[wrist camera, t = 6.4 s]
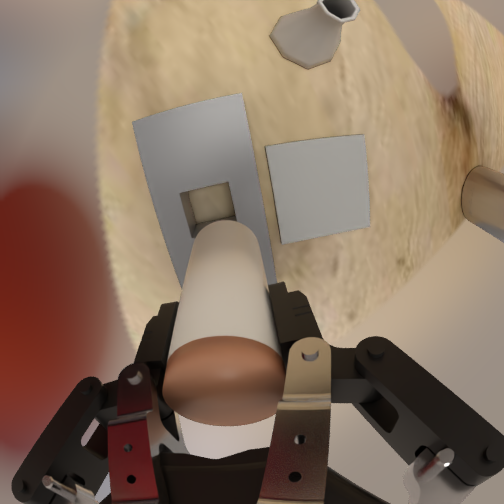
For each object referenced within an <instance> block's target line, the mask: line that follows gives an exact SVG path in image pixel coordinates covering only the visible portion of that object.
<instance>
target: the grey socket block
mask: <svg viewBox="0 0 504 504" xmlns="http://www.w3.org/2000/svg"><path fill="white" fill-rule="evenodd" d="M132 124H133V129H134V133H135V137H136V142H137V146H138V150H139V154H140V158H141V162H142V166H143V169H144V173H145V177H146V180H147V184H148V188H149V191H150V195H151V198H152V201H153V205H154V208H155V211H156V215H157V218H158V221H159V224H160V227H161V231H162V234H163V237H164V240H165V243H166V246H167V249H168V252H169V255H170V257H171V260H172V263H173V266H174V269H175V272H176V274H177V277H178V280H179V283H180V285H181V288H183V284H184V280H185V275H186V271H187V267H188V263H189V259H190V255H191V251H192V247H193V243H194V240H195V238H196V236H197V234H198V233H199V232H200V231H201V230H202V229H203V228H204V227H205V226H207V225H209V224H211V223H213V222H216V221H221V220H231V221H236V222H239V223H241V224H243V225H245V226H246V227H248V228H249V229H250V230H251V231H252V232H253V233H254V234H255V236H256V238H257V240H258V243H259V247H260V252H261V257H262V261H263V266H264V270H265V275H266V279H267V284H268V285H270V284H275V283H277V279H276V273H275V267H274V261H273V256H272V250H271V244H270V238H269V233H268V227H267V221H266V216H265V210H264V205H263V199H262V194H261V188H260V183H259V178H258V172H257V167H256V162H255V156H254V151H253V146H252V141H251V136H250V131H249V126H248V121H247V116H246V111H245V106H244V101H243V96H242V93H239V94H233V95H228V96H223V97H218V98H214V99H209V100H205V101H201V102H197V103H193V104H189V105H185V106H181V107H177V108H174V109H170V110H167V111H164V112H160V113H157V114H154V115H151V116H148V117H145V118H142V119H139V120H136V121H133V122H132ZM225 182H229V187H230V191H231V196H232V200H233V205H234V210H235V214H236V216H232V217H228V218H223V219H218V220H214V221H209V222H205V223H200V224H196V221H195V218H194V214H193V210H192V206H191V203H190V199H189V195H188V191H190V190H194V189H199V188H203V187H207V186H212V185H216V184H221V183H225Z"/></svg>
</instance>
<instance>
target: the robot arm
mask: <svg viewBox="0 0 504 504" xmlns="http://www.w3.org/2000/svg"><path fill="white" fill-rule="evenodd" d="M462 210H463V213H464V215H465V217H466V219H467V220H468V221H470V222H472V223H473V224H475V225H477V226H478V227H480V228H482V229H483V230H485V231H486V232H488V233H489V234H491V235H493V236H494V237H496V238H497V239H499V240H500V241H502V242H503V243H504V174H503V173H500V172H497V171H495V170H492V169H489V168H486V167H483V166H478V167H476V168H474V169H473V170H472V171H471V172H470V173H469V175H468V177H467V179H466V181H465V184H464V187H463V191H462ZM268 289H269V295H270V299H271V304H272V309H273V313H274V318H275V323H276V328H277V333H278V337H279V342H280V347H281V352H282V357H283V361H284V364H285V369H286V379H285V386H284V392H283V398H282V400H279V402H278V406H277V411H276V417H275V422H274V428H273V433H272V438H271V443H270V447H266V448H260V449H251V450H247V451H244V452H241V453H237V454H234V455H231V456H228V457H224V458H221V459H209V458H204V457H199V456H195V455H190V453H189V452H188V450H187V448H186V446H185V443H184V439H183V435H182V430H181V425H180V421H179V415H178V413H176V412H175V411H174V410H172V409H171V408H170V407H169V406H168V405H167V403H166V402H165V400H164V398H163V394H162V389H163V383H164V377H165V371H166V366H167V360H168V355H169V349H170V344H171V339H172V334H173V329H174V324H175V320H176V315H177V310H178V306H179V302H171V303H165V304H162V305H161V307H160V310H159V313H158V316H153V317H152V319H151V320H150V321H149V322H148V323H147V325H146V328H145V331H144V334H143V336H142V341H141V342H140V345H139V348H138V351H137V354H136V357H135V361H134V363H133V364H130V365H128V366H126V367H125V368H124V369H123V370H122V371H121V372H120V374H119V376H118V380H115V381H112V382H109V383H106V384H102V383H101V381H100V380H99V379H98V378H96V377H87V378H84V379H83V380H81V381H80V382H79V383H78V384H77V385H76V387H75V388H74V389H73V391H72V392H71V394H70V395H69V396H68V398H67V399H66V400H65V402H64V403H63V404H62V406H61V407H60V408H59V410H58V411H57V413H56V414H55V415H54V417H53V418H52V420H51V421H50V423H49V424H48V425H47V427H46V428H45V430H44V431H43V433H42V434H41V436H40V438H39V439H38V440H37V441H36V443H35V444H34V446H33V448H32V449H31V451H30V452H29V454H28V455H27V457H26V458H25V460H24V461H23V463H22V465H21V466H20V468H19V470H18V471H17V473H16V474H15V476H14V478H13V480H12V492H13V494H14V496H15V498H16V499H17V500H18V501H20V502H22V503H24V504H390V503H388V502H386V501H384V500H382V499H381V498H379V497H377V496H375V495H373V494H372V493H370V492H368V491H366V490H365V489H363V488H361V487H359V486H358V485H356V484H355V483H353V482H351V481H350V480H348V479H347V478H345V477H343V476H342V475H340V474H339V473H337V472H336V471H334V470H333V469H331V468H330V467H328V454H329V438H330V418H331V417H330V416H331V403H352V404H353V405H354V406H355V408H356V409H357V410H358V411H359V412H360V413H361V414H362V415H363V416H364V418H365V419H366V420H367V421H368V422H369V423H370V424H371V425H372V426H373V428H375V430H376V431H377V432H378V433H379V434H380V435H381V436H382V437H383V438H384V439H385V441H386V442H388V444H389V445H390V446H391V447H392V448H393V449H394V450H395V451H396V452H397V453H398V454H399V455H400V457H401V458H403V460H404V461H405V462H406V463H407V464H408V465H409V466H408V468H407V469H406V471H405V474H404V477H403V482H404V486H405V488H406V489H407V491H408V493H409V503H408V504H460V503H461V502H462V501H463V500H464V499H465V498H466V497H467V496H468V495H469V494H470V493H471V491H472V490H473V489H474V488H475V487H476V486H477V485H479V484H481V483H483V482H484V481H486V480H487V479H489V478H491V477H492V476H494V475H495V474H497V473H498V472H499V471H501V470H502V469H503V468H504V435H502V434H501V433H500V432H499V431H498V430H496V429H495V428H494V427H493V426H492V425H491V424H490V423H489V422H487V421H486V420H485V419H484V418H482V416H480V415H479V414H478V413H477V412H476V411H474V410H473V409H472V408H471V407H470V406H469V405H467V404H466V403H465V402H464V401H463V400H461V399H460V398H459V397H458V396H457V395H455V394H454V393H453V392H452V391H451V390H449V389H448V388H447V387H446V386H445V385H443V384H442V383H441V382H440V381H439V380H437V379H436V378H435V377H434V376H433V375H431V374H430V373H429V372H428V371H426V370H425V369H424V368H423V367H422V366H420V365H419V364H418V363H416V362H415V361H414V360H413V359H412V358H411V357H409V356H408V355H407V354H406V353H404V352H403V351H402V350H401V349H399V348H398V347H397V346H396V345H394V344H393V343H392V342H391V341H389V340H388V339H386V338H383V337H378V336H374V337H368V338H366V339H364V340H362V341H361V342H360V343H359V344H358V345H357V347H356V348H337V347H334V346H331V345H329V344H328V343H327V342H326V341H324V339H323V338H322V335H321V333H320V330H319V328H318V325H317V322H316V320H315V317H314V315H313V313H312V310H311V307H310V305H309V302H308V300H307V297H306V296H305V295H304V294H303V293H301V292H300V291H299V290H298V291H294V292H289V293H288V292H287V289H286V285H285V282H280V283H275V284H270V285H268ZM94 418H95V419H96V420H97V421H98V422H99V423H100V424H99V426H98V427H97V429H96V430H95V432H94V433H93V435H92V436H91V438H90V439H89V441H88V443H87V444H86V445H85V446H82V445H81V438H82V436H83V435H84V433H85V432H86V430H87V429H88V427H89V425H90V424H91V422H92V420H93V419H94ZM108 472H109V477H110V489H111V493H110V494H109V495H108V496H107V497H106V498H104V499H103V500H102V501H101V502H100V503H98V501H96V500H95V495H96V493H97V492H98V490H99V488H100V486H101V485H102V483H103V481H104V479H105V477H106V476H107V474H108Z"/></svg>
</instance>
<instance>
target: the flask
mask: <svg viewBox="0 0 504 504" xmlns="http://www.w3.org/2000/svg"><path fill="white" fill-rule="evenodd" d="M359 11H360V8H359V7H358V5H357V4H356V2H355V1H354V0H318V1H317V4H316V5H314V6H313V7H311V8H309V9H304V10H301V11H297V12H294V13H291V14H287V15H284V16H281V17H280V18H279V20H278V22H277V23H276V25H275V27H274V29H273V30H272V32H271V34H270V35H269V36H270V37H271V39H272V40H273V42H274V43H275V45H276V47H277V48H278V50H279V51H280V53H281V55H282V56H283V57H284V58H286V59H288V60H290V61H293V62H295V63H297V64H299V65H301V66H303V67H304V68H306V69H310V68H313V67H316V66H318V65H321V64H324V63H327V62H330V61H331V60H332V58H333V56H334V54H335V52H336V50H337V48H338V46H339V44H340V41H341V29H342V24H344V23H345V22H349V21H353V20H355V19H356V17H357V15H358V13H359Z"/></svg>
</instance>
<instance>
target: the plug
mask: <svg viewBox="0 0 504 504" xmlns="http://www.w3.org/2000/svg"><path fill="white" fill-rule="evenodd" d="M285 379H286V369H285V364H284V361H283V357H282V352H281V347H280V342H279V337H278V333H277V328H276V323H275V318H274V313H273V309H272V304H271V299H270V295H269V289H268V284H267V279H266V275H265V270H264V266H263V261H262V257H261V252H260V247H259V243H258V240H257V238H256V236H255V234H254V233H253V232H252V231H251V230H250V229H249V228H248V227H246V226H245V225H243V224H241V223H239V222H236V221H231V220H221V221H216V222H213V223H211V224H209V225H207V226H205V227H204V228H203V229H202V230H201V231H200V232H199V233H198V234H197V236H196V238H195V240H194V243H193V247H192V251H191V255H190V259H189V263H188V267H187V271H186V275H185V280H184V284H183V288H182V292H181V297H180V301H179V306H178V310H177V315H176V320H175V324H174V329H173V334H172V339H171V344H170V349H169V355H168V360H167V366H166V371H165V377H164V383H163V389H162V394H163V398H164V400H165V402H166V403H167V405H168V406H169V407H170V408H171V409H172V410H174V411H175V412H176V413H178V414H180V415H181V416H183V417H185V418H187V419H190V420H192V421H195V422H199V423H203V424H208V425H215V426H239V425H247V424H251V423H255V422H259V421H261V420H264V419H267V418H269V417H271V416H273V415H274V414H276V411H277V406H278V402H279V400H282V398H283V392H284V386H285Z"/></svg>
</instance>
